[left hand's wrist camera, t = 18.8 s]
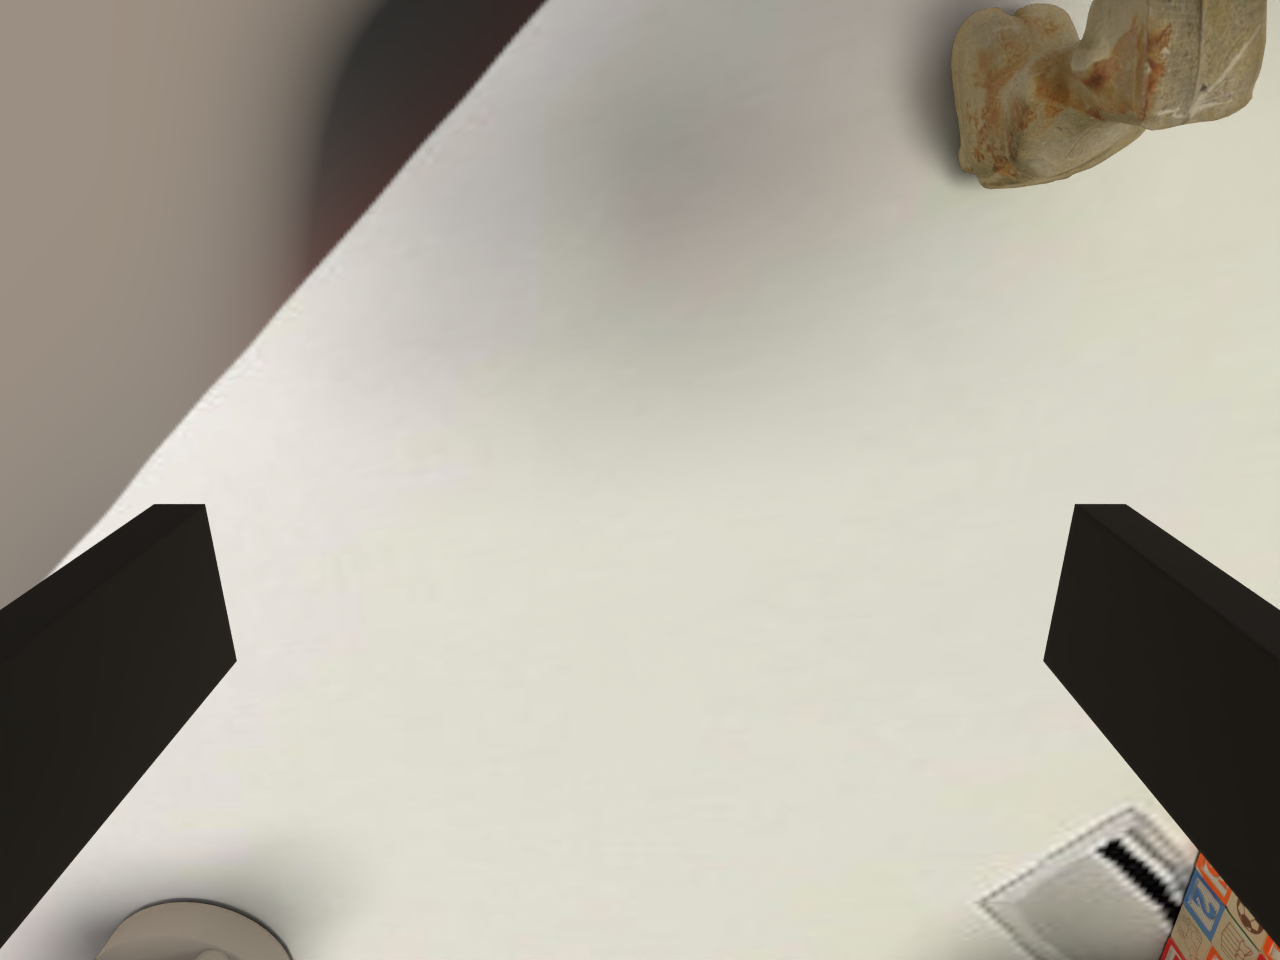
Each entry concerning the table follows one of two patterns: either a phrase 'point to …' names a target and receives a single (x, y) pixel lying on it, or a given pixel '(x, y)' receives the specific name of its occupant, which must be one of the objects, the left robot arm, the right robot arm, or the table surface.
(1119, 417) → the table surface
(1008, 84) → the sculpture
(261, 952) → the bust sculpture
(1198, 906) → the stack of blocks
